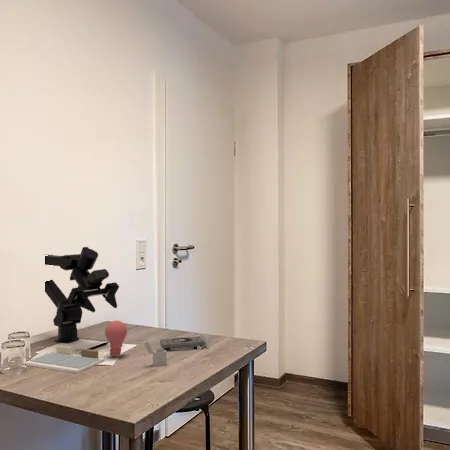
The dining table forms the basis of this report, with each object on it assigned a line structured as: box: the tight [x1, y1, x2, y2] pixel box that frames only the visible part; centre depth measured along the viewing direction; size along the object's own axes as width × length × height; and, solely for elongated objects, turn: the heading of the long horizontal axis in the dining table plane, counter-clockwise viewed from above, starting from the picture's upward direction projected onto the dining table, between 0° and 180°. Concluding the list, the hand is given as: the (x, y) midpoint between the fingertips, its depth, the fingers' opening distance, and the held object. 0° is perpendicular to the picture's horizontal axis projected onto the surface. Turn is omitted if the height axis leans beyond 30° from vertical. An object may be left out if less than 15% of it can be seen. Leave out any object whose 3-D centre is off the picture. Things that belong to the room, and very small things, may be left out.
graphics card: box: [159, 333, 211, 352], centre depth 164 cm, size 17×4×12 cm
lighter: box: [143, 339, 167, 367], centre depth 143 cm, size 7×2×8 cm, turn 105°
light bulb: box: [104, 320, 128, 358], centre depth 152 cm, size 7×7×12 cm
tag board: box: [25, 345, 105, 374], centre depth 145 cm, size 21×13×3 cm, turn 67°
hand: (105, 309), depth 158 cm, fingers open, 9 cm apart
